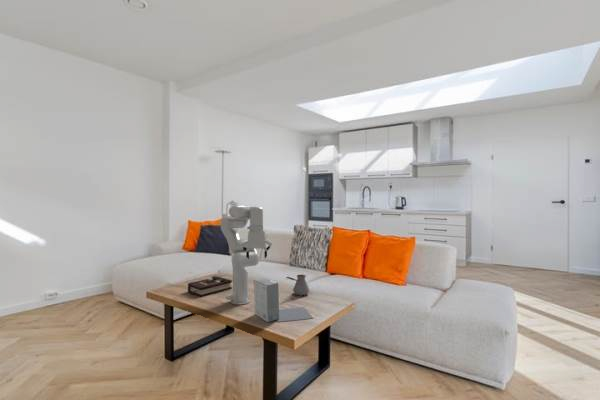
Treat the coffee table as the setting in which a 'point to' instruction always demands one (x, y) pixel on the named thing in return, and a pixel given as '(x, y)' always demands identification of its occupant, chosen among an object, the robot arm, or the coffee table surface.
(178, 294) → the coffee table surface
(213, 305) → the coffee table surface
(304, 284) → the coffee pot
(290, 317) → the mat
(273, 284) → the hard drive box
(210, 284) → the decorative book
